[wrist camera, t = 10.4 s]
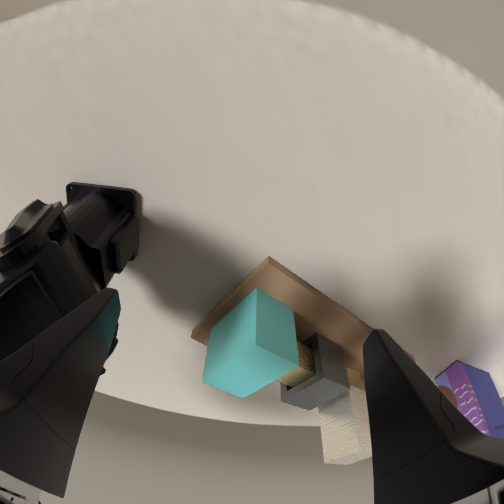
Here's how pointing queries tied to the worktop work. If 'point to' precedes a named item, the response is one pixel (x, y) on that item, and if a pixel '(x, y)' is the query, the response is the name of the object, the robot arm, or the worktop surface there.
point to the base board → (297, 312)
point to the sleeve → (320, 376)
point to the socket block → (251, 346)
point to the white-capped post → (337, 414)
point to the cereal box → (473, 397)
